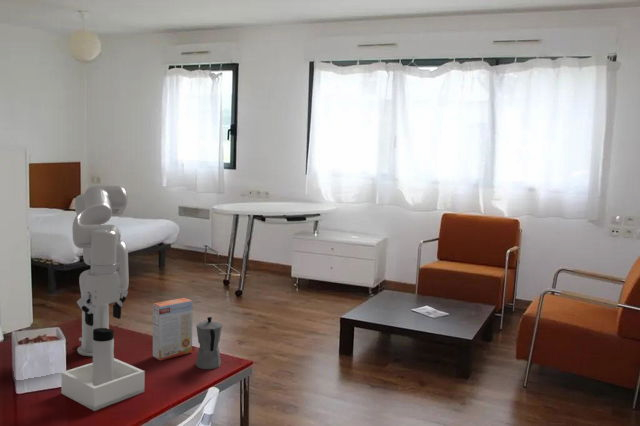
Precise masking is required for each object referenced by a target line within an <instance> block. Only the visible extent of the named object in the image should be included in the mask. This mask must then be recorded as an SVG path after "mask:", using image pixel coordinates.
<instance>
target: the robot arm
mask: <svg viewBox="0 0 640 426" xmlns="http://www.w3.org/2000/svg"><path fill="white" fill-rule="evenodd" d="M128 202H129V201H128V194H127V190H126V189H125V188H124V187H123V186H122V185H98V184H97V185H92V186H90V187H88V188H87V189H86V190H85V192H84V193H82V194H79V195H77V196H76V197H75V200H74V209H75V213H76V216H75V217H74V219H73V222H72V227H71V228H72V241H73V244H74V246H75V247H76V248H78V249H82V256H83V257H82V258H83V263H85V264H86V265H87V266H90V268H89V269H87V270H84V271H82V272H81V273H80V274H79V277H78V279H79V280H78V282H79V284H78V285H79V290H80V296H81V297H80V298H79V299H78V300H77V301H76V303H77V305H78V307H79V309H80V310H81V336H80V337H79V338H78V340H79V342H81V345H80V346H79V347H77V353H78V355H81V356H86V357H93V330H94V329H96V328H108V329H110V326H109V325H110V324H109V323H110V305H109V304H112V305H113V306H112V317H113V318H116V319H118V320H119V319H120V320H121V318H122V317H121V315H122V307H123V305H124V303H125V301H126V299H127V296H128V293H129V291H128V289H129V282H130V281H129V280H130V279H129V277H130V276H129V252H128V246H127V244H126V243H125V241H123V240H121V238H122V237H121V236H122V235H121V230H120V229H119V227H118V226H117V225H115V224H106V223H108V222H110V220H111V218H112V217H114V216H115V217H118V216H122V215H123V214H124V212H125V210H126V209H127V206H128Z"/></svg>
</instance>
